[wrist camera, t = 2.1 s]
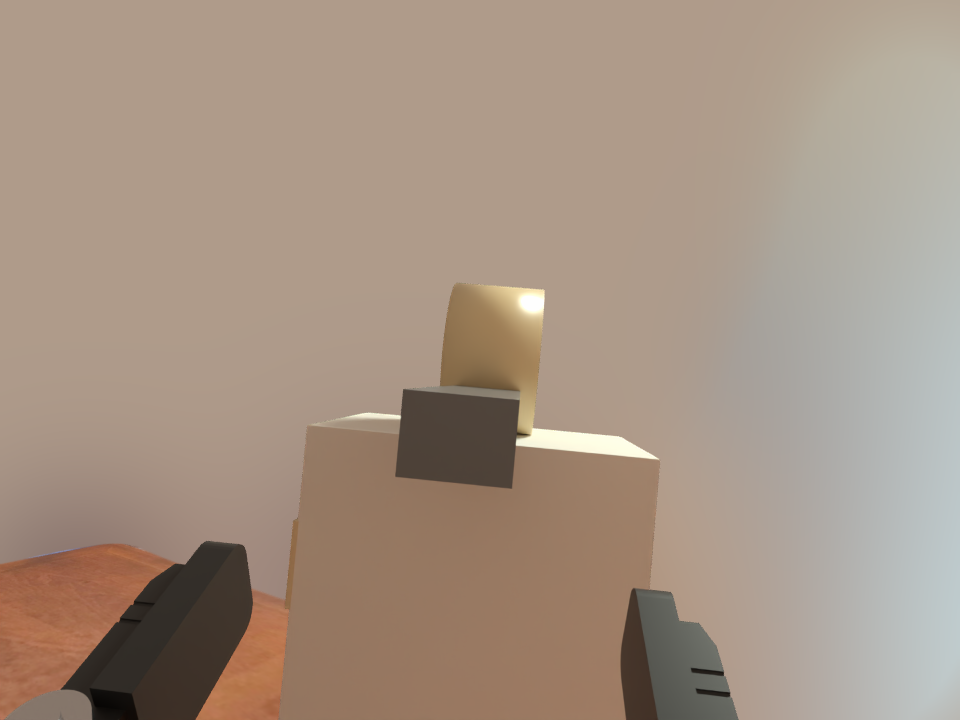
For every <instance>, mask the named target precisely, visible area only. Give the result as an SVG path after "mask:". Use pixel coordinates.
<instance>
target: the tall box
mask: <svg viewBox="0 0 960 720" xmlns="http://www.w3.org/2000/svg"><path fill="white" fill-rule="evenodd" d="M400 419H401V416H398V415H387V414H377V413H363V414H358V415H353V416H348V417H344V418H339V419H334V420H329V421H324V422H320V423H315V424H310V425H307V434H306V444H305V455H304V465H303V474H302V485H301V494H300V505H299V515H298V518H297V519H295V520H294V521H293V530H292V539H291V551H290V560H289V570H288V580H287V590H286V601H285V609H289V617H288V627H287V638H286V648H285V658H284V668H283V679H282V689H281V699H280V709H279V719H278V720H626V715H625V707H624V699H623V690H622V682H621V668H620V659H621V645H622V639H623V633H624V628H625V622H626V616H627V611H628V605H629V599H630V594H631V591H632V589H633V588H638V589H648V590H649V589H650V577H651V576H650V575H651V565H652V552H653V539H654V528H655V515H656V504H657V492H658V479H659V468H660V459H658V458H656V457H655V456H653V455H651V454H649V453H648V452H646V451H644V450H642V449H641V448H639V447H637V446H635V445H634V444H632V443H630V442H628V441H627V440H625V439H623V438H621V437H617V436H607V435H596V434H585V433H576V432H565V431H555V430H545V429H534V428H533V429H532V435H526V434H517V438H516V450H515V461H514V472H513V484H512V489H509V488H499V487H489V486H479V485H470V484H460V483H450V482H440V481H431V480H421V479H411V478H401V477H395V473H396V462H397V451H398V441H399V430H400Z"/></svg>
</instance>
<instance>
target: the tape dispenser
mask: <svg viewBox="0 0 960 720" xmlns="http://www.w3.org/2000/svg"><path fill="white" fill-rule="evenodd" d="M543 310H544V290H540V289H527V288H514V287H502V286H490V285H478V284H466V283H456V284H455V285H454V287H453V290H452V293H451V297H450V302H449V307H448V312H447V318H446V325H445V333H444V341H443V351H442V363H441V380H440V387H426V388H413V389H403V399H402V409H401V419H400V430H399V441H398V451H397V462H396V473H395V477H401V478H411V479H421V480H431V481H440V482H450V483H460V484H470V485H479V486H489V487H499V488H509V489H512V484H513V472H514V461H515V450H516V438H517V434H526V435H532V429H533V421H534V413H535V403H536V394H537V384H538V373H539V362H540V351H541V339H542V326H543V312H544V311H543Z"/></svg>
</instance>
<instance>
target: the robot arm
mask: <svg viewBox="0 0 960 720" xmlns="http://www.w3.org/2000/svg"><path fill="white" fill-rule="evenodd" d="M252 606H253V599H252V591H251V584H250V576H249V569H248V562H247V554H246V550H245V547H244V546H243V545H240V544H232V543H222V542H212V541H206V542H204V543H203V544H201V545H200V547H199V548H198V549H197V550H196V552H195V553H194V554H193V556H192V557H191V558H190V559H189V561H188V562H187V563H186V564H185V565H183V564H174V565H173V566H171V567H170V568H168V569H167V570H165V571H164V572H163V573H161V574H160V575H158V576H157V577H155V578H154V579H152V580H151V581H150V582H149V584H148V585H147V586H146V587H145V588H144V590H143V591H142V592H141V593H140V594H139V596H138V597H137V598H136V599H135V601H134V604H133V605H130V607H129V608H128V609H127V610H126V611H125V613H124V614H123V615H122V616H121V617H120V621H119V623H118V622H116V624H115V625H114V626H113V627H112V628H111V630H110V631H109V632H108V633H107V634H106V636H105V637H104V638H103V639H102V640H101V642H100V643H99V644H98V645H97V647H96V648H95V649H94V650H93V651H92V653H91V654H90V655H89V656H88V657H87V659H86V660H85V661H84V662H83V663H82V665H81V666H80V667H79V668H78V670H77V671H76V672H75V673H74V674H73V676H72V677H71V678H70V679H69V680H68V682H67V683H66V684H65V685H64V686H63V687H62V689H61V690H57V691H52V692H48V693H45V694H42V695H40V696H37V697H35V698H33V699H31V700H29V701H27V702H26V703H24V704H23V705H21V706H19V707H18V708H17V709H15V710H14V711H13V712H12V713H10V714H9V715H8V716H7V717H6V718H5V719H4V720H195V719H196V718H197V716H198V714H199V712H200V711H201V709H202V707H203V705H204V704H205V702H206V700H207V698H208V697H209V695H210V693H211V691H212V690H213V688H214V686H215V684H216V682H217V681H218V679H219V677H220V675H221V674H222V672H223V670H224V668H225V667H226V665H227V663H228V661H229V660H230V658H231V656H232V654H233V653H234V651H235V649H236V647H237V646H238V644H239V642H240V640H241V639H242V637H243V635H244V633H245V631H246V629H247V627H248V624H249V621H250V618H251V614H252ZM620 668H621V682H622V690H623V699H624V707H625V715H626V720H738V717H737V713H736V710H735V707H734V703H733V700H732V698H731V697H730V690H729V687H728V683H727V680H726V677H725V676H724V670H723V667H722V663H721V660H720V657H719V653H718V650H717V647H716V645H715V644H714V642H713V641H712V640H711V639H710V637H709V636H708V635H707V633H706V632H705V631H704V629H703V628H702V627H701V625H700V624H699V623H693V622H684V621H679V618H678V615H677V610H676V606H675V602H674V598H673V595H672V593H671V592H666V591H657V590H648V589H638V588H633V589H632V591H631V594H630V599H629V605H628V611H627V616H626V622H625V628H624V633H623V639H622V645H621V659H620Z"/></svg>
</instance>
